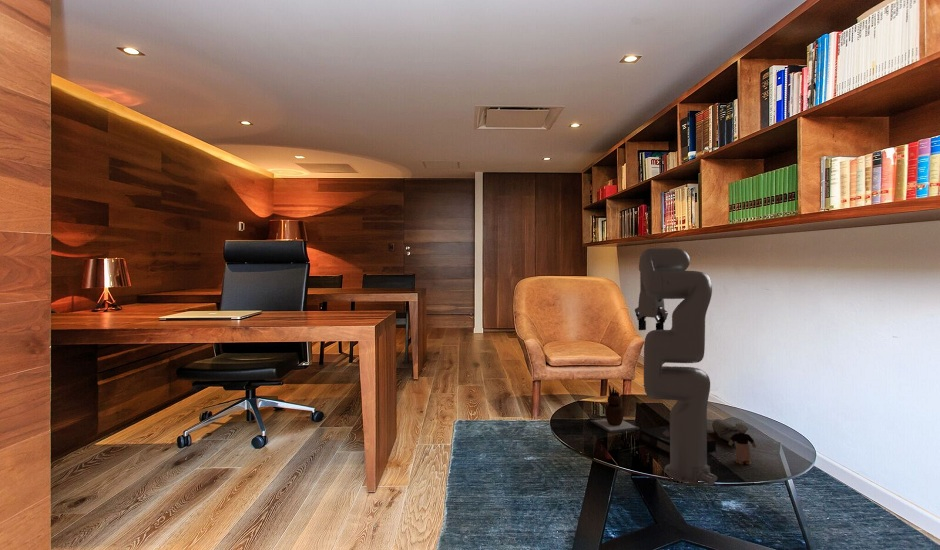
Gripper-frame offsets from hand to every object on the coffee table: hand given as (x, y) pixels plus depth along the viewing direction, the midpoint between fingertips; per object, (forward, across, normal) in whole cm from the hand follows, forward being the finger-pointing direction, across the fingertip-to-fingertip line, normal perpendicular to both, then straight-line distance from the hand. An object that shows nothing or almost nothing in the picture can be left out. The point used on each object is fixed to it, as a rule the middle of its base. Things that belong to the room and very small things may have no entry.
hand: (650, 331), depth 165 cm
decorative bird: (+37, -23, -12) cm, 45 cm away
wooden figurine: (+36, +2, +16) cm, 39 cm away
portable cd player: (+37, -21, +8) cm, 43 cm away
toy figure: (+36, -38, -1) cm, 53 cm away
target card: (+36, +2, +16) cm, 40 cm away
